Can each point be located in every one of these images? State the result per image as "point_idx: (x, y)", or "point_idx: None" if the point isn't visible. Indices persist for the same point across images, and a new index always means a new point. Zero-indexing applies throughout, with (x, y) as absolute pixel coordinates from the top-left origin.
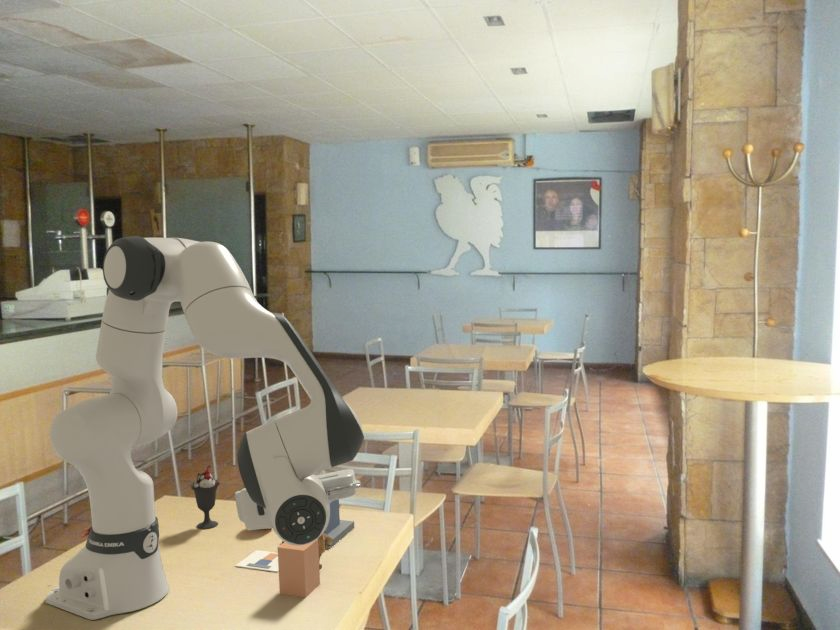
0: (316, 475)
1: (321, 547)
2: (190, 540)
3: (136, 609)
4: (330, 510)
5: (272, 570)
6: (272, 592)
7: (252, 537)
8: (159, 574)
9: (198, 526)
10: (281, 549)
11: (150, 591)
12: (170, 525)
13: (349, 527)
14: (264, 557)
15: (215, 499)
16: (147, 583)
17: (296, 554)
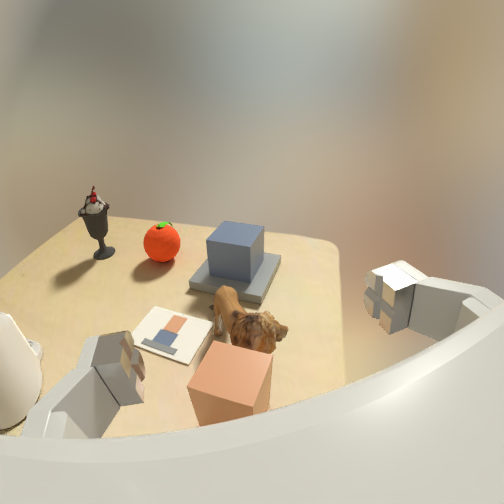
0: (486, 341)
1: (269, 349)
2: (82, 278)
3: (5, 428)
4: (256, 248)
5: (180, 361)
6: (188, 426)
7: (150, 277)
8: (15, 380)
9: (94, 255)
10: (196, 392)
11: (11, 407)
12: (71, 252)
13: (277, 265)
14: (166, 325)
15: (107, 225)
16: (2, 399)
17: (233, 407)
